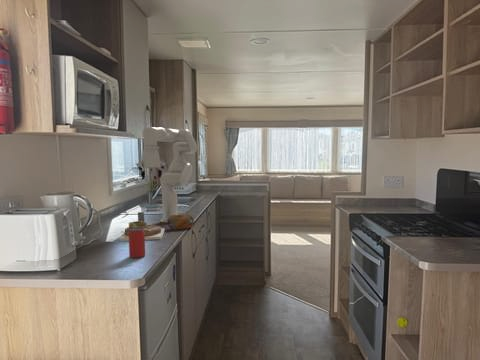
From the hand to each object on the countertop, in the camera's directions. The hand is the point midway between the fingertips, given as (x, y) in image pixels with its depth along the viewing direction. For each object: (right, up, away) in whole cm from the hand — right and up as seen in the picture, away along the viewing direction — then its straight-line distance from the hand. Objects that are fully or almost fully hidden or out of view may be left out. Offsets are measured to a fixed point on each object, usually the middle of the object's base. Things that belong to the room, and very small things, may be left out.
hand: (151, 177), depth 209 cm
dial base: (0, -31, -17) cm, 36 cm away
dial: (0, -30, -17) cm, 34 cm away
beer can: (+8, -35, -56) cm, 66 cm away
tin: (+17, -30, 0) cm, 35 cm away
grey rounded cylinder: (-6, -30, -1) cm, 31 cm away
